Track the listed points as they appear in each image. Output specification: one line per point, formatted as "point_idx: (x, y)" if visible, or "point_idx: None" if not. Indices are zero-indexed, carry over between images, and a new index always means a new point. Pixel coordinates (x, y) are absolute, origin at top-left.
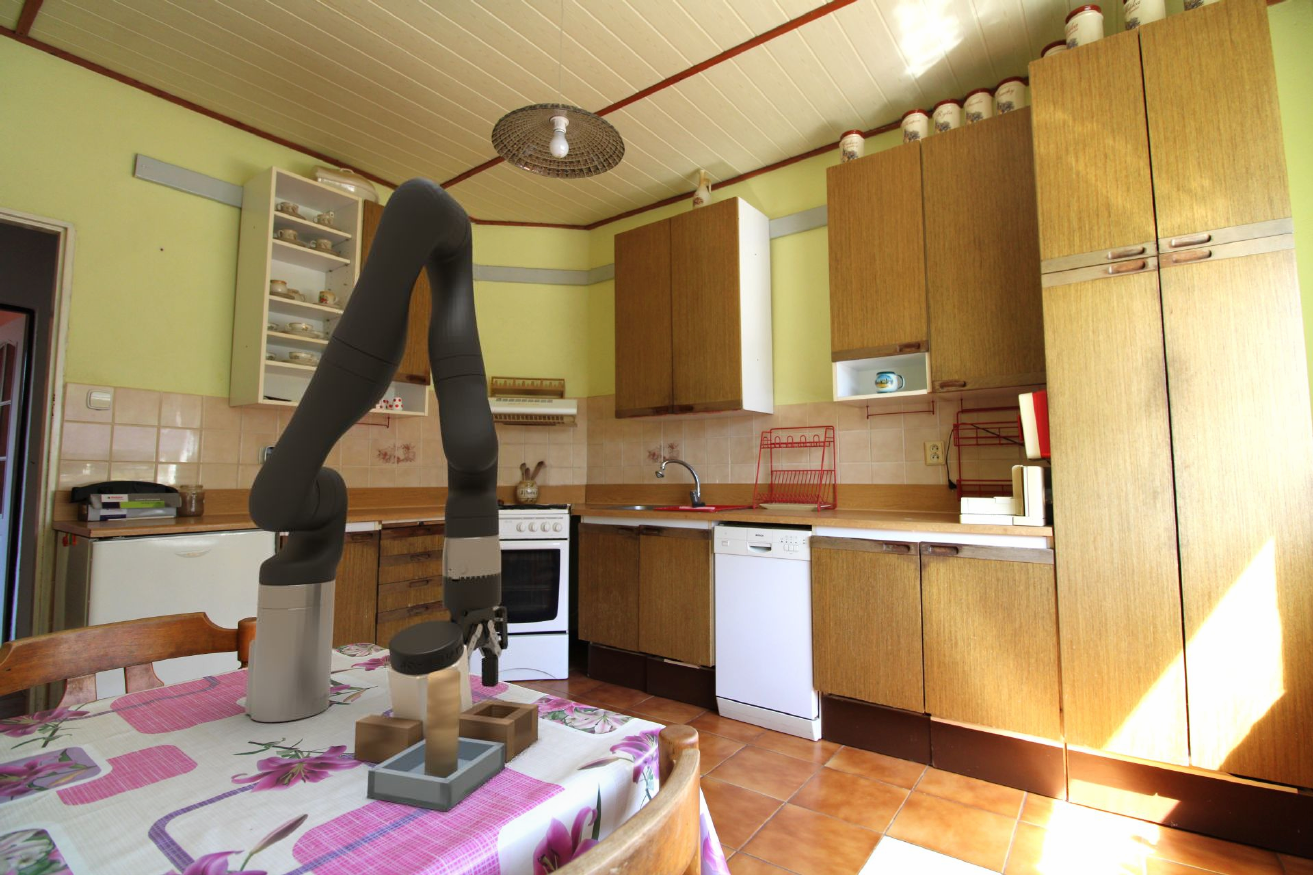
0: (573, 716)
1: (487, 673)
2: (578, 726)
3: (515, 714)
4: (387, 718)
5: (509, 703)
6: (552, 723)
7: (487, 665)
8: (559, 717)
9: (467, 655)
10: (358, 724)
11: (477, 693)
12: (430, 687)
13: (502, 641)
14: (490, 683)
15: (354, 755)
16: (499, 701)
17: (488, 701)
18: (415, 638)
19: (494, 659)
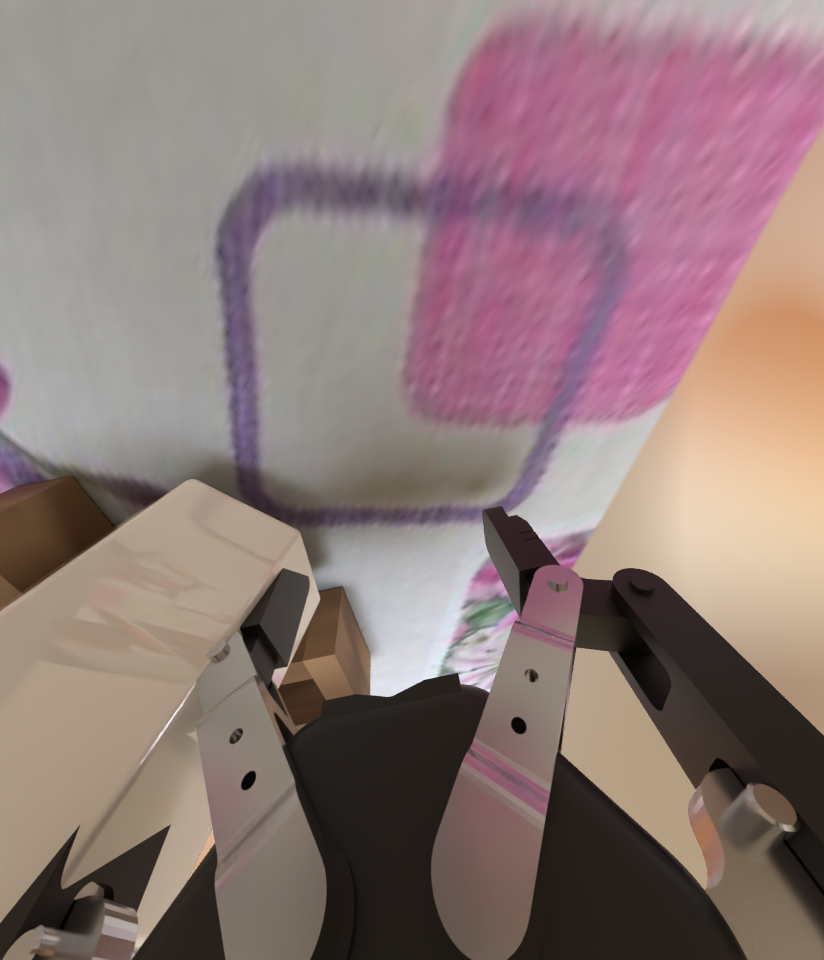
0: (492, 633)
1: (498, 550)
2: (452, 660)
3: (298, 730)
4: (8, 597)
5: (342, 693)
6: (446, 630)
7: (509, 571)
8: (478, 622)
9: (197, 855)
10: None
11: (583, 357)
12: None
13: (620, 667)
14: (486, 538)
15: (6, 491)
16: (338, 677)
17: (321, 664)
18: None
19: (519, 616)
